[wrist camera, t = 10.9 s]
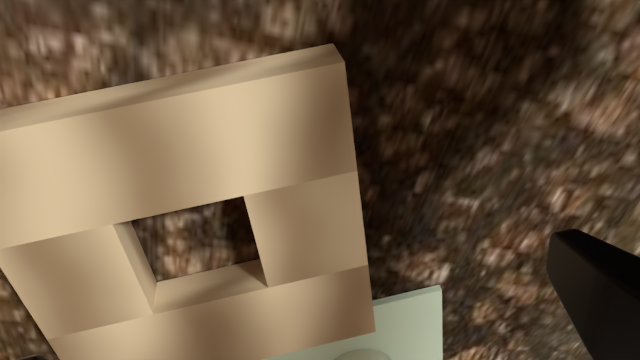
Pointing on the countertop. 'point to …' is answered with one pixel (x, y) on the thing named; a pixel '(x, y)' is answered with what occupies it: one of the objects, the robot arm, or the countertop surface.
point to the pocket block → (184, 192)
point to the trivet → (392, 330)
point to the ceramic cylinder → (364, 355)
